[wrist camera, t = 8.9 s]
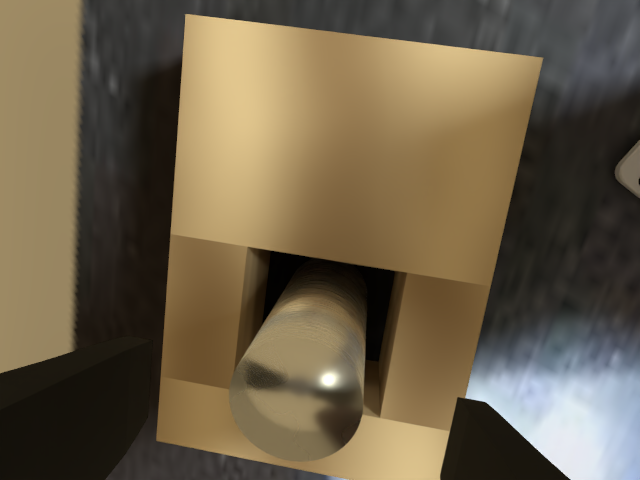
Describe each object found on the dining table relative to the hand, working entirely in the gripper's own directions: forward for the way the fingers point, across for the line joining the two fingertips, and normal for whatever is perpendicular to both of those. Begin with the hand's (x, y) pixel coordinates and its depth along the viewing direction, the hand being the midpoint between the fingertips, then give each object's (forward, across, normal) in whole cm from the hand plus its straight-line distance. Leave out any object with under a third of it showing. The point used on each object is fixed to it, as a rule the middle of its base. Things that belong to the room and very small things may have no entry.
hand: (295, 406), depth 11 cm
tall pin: (+8, 0, 0) cm, 8 cm away
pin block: (+8, 0, -2) cm, 8 cm away
